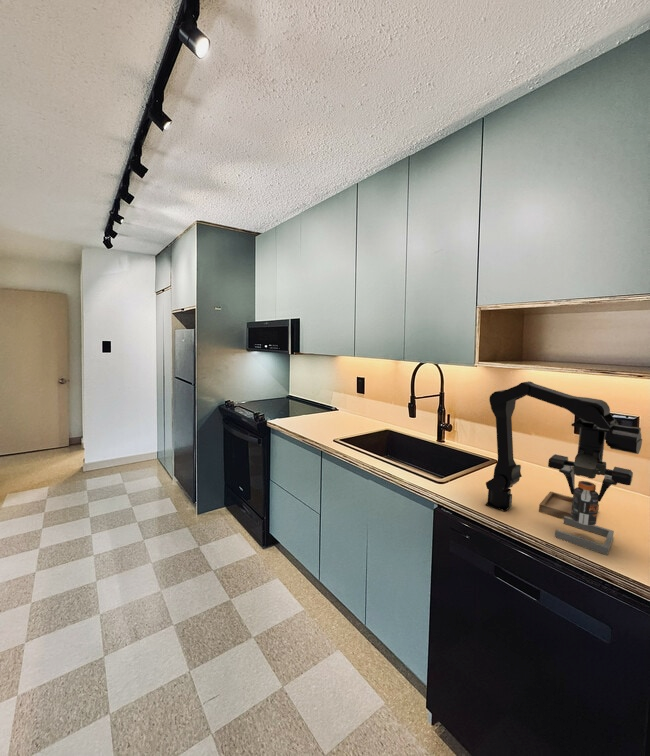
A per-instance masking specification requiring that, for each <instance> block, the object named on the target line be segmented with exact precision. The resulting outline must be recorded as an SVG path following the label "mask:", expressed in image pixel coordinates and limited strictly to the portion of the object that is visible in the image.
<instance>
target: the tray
mask: <svg viewBox="0 0 650 756" xmlns="http://www.w3.org/2000/svg"><path fill="white" fill-rule="evenodd" d="M572 501H573V496H570V495H564V494H563V493H562V494H561V493H558V492H554V491H549V492H547V495H546V496H545V497H544V499H542V500H541V502H540V503H539V505H538V506H539V507H538V512H539V513H541V514H542V513H543V514H546V515H549V516H552V517H555V518H559V519H562V520H564V516H566V517H570V518H571V509H572ZM599 509H600V504H599V503H598V511H597V514H599Z"/></svg>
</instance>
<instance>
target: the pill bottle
mask: <svg viewBox="0 0 650 756" xmlns="http://www.w3.org/2000/svg"><path fill="white" fill-rule="evenodd" d="M596 488H597V485H596V483H593V482H590V481H587V480H586V481H585V480H580V481H578V484H577V487H575V489H574V492H573V494H572V497H573V501H572V509H571V518H572V519H573V520H574V521H576V522H578V523H580V524H584V525H596V524H597V517H598V513H597V511H598V512H599V510H598V504H599V501H598V497H599V493H598V492H597V490H596Z"/></svg>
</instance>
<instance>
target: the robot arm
mask: <svg viewBox="0 0 650 756" xmlns="http://www.w3.org/2000/svg"><path fill="white" fill-rule="evenodd" d="M526 396H528V397H530V398H533V399H536V400H539V401H541V402H545V403H547V404H551V405H554V406H556V407H559V408H563V409H565V410H566V411H568V412H570V413H571V414H572V415H574V416H575V417H577V418H578V419H577V420H576V421H574V422H573V423H571V427H575V428H579V436H578V446H577V454H576V456H575V457H574V461H573V460H572V461H571V460H569V456H564V455H561V454H553V455H552V456H551V457H549V459H548V462H547V465H548V466H547V467H548V468H550V469H555V470H558V472H559V473H562V475H564V477H565V479H566V482H567V484H568V487H569V491H570V494H571V495H573V492H574V489H575V488H576V487H575V479H576V478H575V477H576V476H577V477H579V476H580V477H584V478H585V477H586V478H588V479H591V480H592V479H595V478H596V475H597V476H600V475H601V476H604V478H603V480H602V483H601V487H600V489H599V490H600V491H599V493H598V494H599V497H598V501H599V502H601V501H602V499H603V497H604V495H605V493H606V492H607V490H608V489H609V488H610V487H611V486H617V485H618V484H620V485H624V486H631V485H632V482H633V476H634V474H633V473H634V472H633V471H632V470H631V469H628V468H623V467H619V466H614V467H613V469H610V468H609V469H608V468H607V462H606V461H603V456H604V448H605V444H606V446H608V447H609V448H610V449H611V450H615V451H620V452H625V453H630V454H635V455H639V453H640V451H641V449H642V444H643V438H642V432H641V430H642V427H638V426H627V425H622V424H621V425H620V424H619V423H618V421H617V420H616V419H615V417H614V416H613V415H612V413H611V408H610V406H609V404H608V403H607V402H606V401H605V400H602V399H597V398H593V397H585V396H577V395H571V394H569V393H565V392H562V391H559V390H556V389H553V388H550V387H549V388H548V387H546V386H543V385H540V384H536V383H534V382H532V381H528V380H527V381H523V382H520V383H518V384H517V385H515V386H512V387H510V388H508V389H502V390H497V391H494V392H492V393H491V394H490V395H489V399H488V400H489V404H490V409H491V412H492V413H493V416H494V417H495V427H496V428H495V430H496V448H497V461H496V464H495V466H494V470H493V477H492V478H491V479H490V480H488V481H486V482H485V485H486V489H487V491H488V493H487V502H486V503H485V506H488V507H490V508H493V509H496V510H500V511H503V512H507V510H509V509H510V508H511V507H512V506H513V505H512V504H513V494H512V489H511V488H513V486H514V485H516V484H518V482H519V481H520V478H521V477H523V476H522V473H521V472H522V471H521V469H522V465H521V464H517V463H516V461H515V459H514V448H513V447H514V445H513V443H514V442H513V424H512V420H513V419H512V418H513V414H514V411H515V408H516V403H517V400H520V399H522V398H524V397H526ZM599 502H598V503H599Z"/></svg>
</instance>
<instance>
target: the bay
mask: <svg viewBox="0 0 650 756" xmlns="http://www.w3.org/2000/svg"><path fill="white" fill-rule="evenodd" d="M564 524H565V525H568V526H571V527H575V528H577V529H580V530H584V531H588V532H589V533H594V534H596V535H600V536H603V537H606V538H605V541H604V544H603V543H598V542H595V541H592V540H590V539H586V538H583V537H581V536H577V535H575V534H572V533H568V532H565V531H562V530H559V529H555V532H554V538H555V537H556V538H555V539H559V540H561V539H562V540H561V541H564V540H565V541H564V542H567V541H568V543H570V544H573V545H575V546H579V547H582V548H585V549H588V550H590V551H594V552H597V553H599V554H602V555H605V556H608V554H609V552H610V548H611V545H612V542H613V539H614V534H615V533H614V532H615V530H613V529H609V528H606V527H603V526H600V525H596V524H595V525H584V524H580V523H578V522H576V521H574V520H573V519H572V518H570V517H566V516H564V519H563V525H564Z"/></svg>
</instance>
